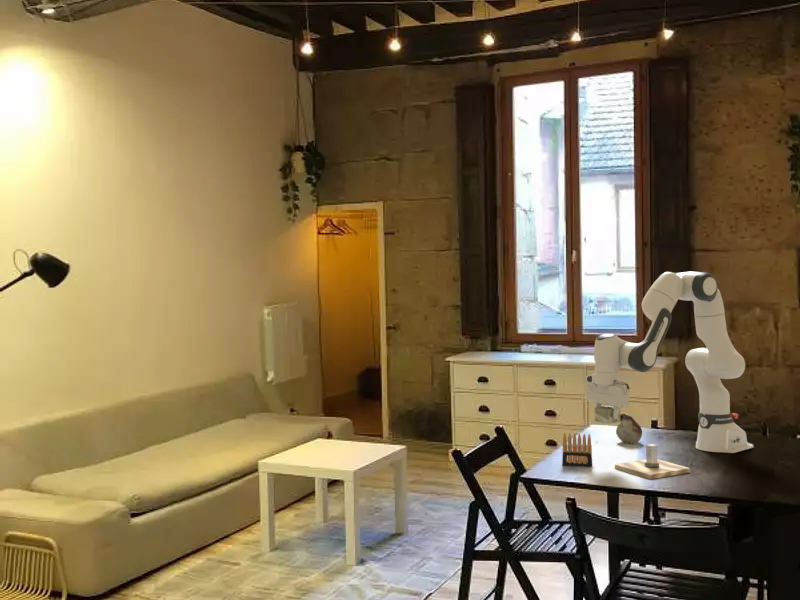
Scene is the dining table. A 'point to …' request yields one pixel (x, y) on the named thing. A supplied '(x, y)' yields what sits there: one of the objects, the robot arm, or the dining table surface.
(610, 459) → the dining table surface
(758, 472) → the dining table surface
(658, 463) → the shaft board
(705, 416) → the robot arm
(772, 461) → the dining table surface
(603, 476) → the dining table surface
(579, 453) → the ammunition clip
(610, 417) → the collar
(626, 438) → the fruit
